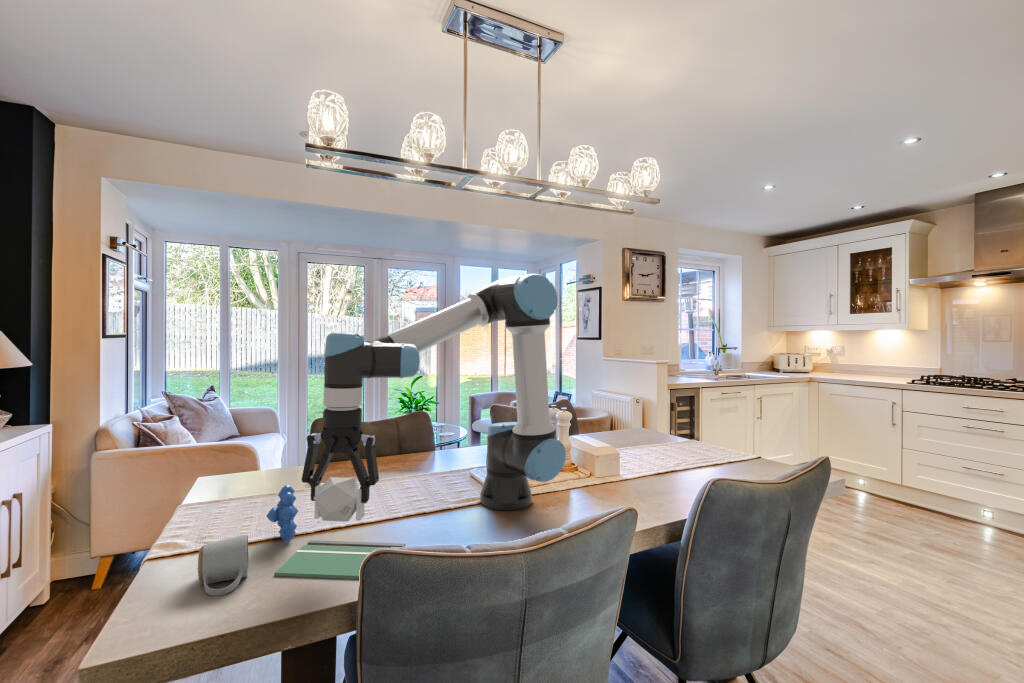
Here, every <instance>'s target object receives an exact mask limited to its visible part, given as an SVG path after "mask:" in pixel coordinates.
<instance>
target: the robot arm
mask: <svg viewBox="0 0 1024 683" xmlns="http://www.w3.org/2000/svg"><path fill="white" fill-rule="evenodd" d="M558 300H559V299H558V294H557V290H556V288H555V286H554V284H553V283H552V282H551V281H550V280H549V278H547V277H546V276H544V275H542V274H539V273H524V274H523V273H522V274H520V275H515V276H510V277H509V276H508V277H503V278H500V279H497V280H495V281H493V282H491V283H490V284H487V285H485V286H484V287H482V288H480V289H477V290H476V291H473V292H471V293H469V294H468V295H467V297H466V299H464V300H462V301H460V302H458V303H456V304H454V305H451V306H449V307H447V308H444V309H441V310H440V311H437V312H435V313H432V314H430V315H428V316H426V317H424V318H421V319H419V320H417V321H415V322H412V323H410V324H407V325H406V326H403V327H400V328H398V329H397V330H394V331H392V332H390V333H387V334H385V335H383V336H380V337H379V338H376V339H374V340H370V341H369V340H367V341H366V340H365V336H364V335H363V334H362V333H353V332H352V333H350V332H349V333H348V332H347V333H345V332H344V333H343V332H331V333H329V334H328V335H327V336H326V338H325V347H324V348H325V349H324V354H323V357H324V378H323V379H324V380H323V381H324V382H323V400H322V401H323V404H322V405H323V406H324V407H325V408H324V409H323V410H322V430H321V432H320V433H317V432H314V433H311V434H309V435H307V436H306V442H307V450H306V454H305V460H304V465H303V471H302V475H301V482H302V483H307V484H309V485H310V501H312V502H314V512H313V513H314V515H313V516H314V517H313V519H315V520H317V519H319V518H320V517H321V515H320V513H319V510H318V508H317V505H316V503H315V501H314V497H315V495H316V494H317V493H318V492H319V490H320V489H321V488H322V486H323V485H324V484H325V483H326V482H323V477H324V475H325V473H326V471H327V469H328V466H329V465H330V462H331V461H332V458H333V456H334V454H338V453H341V454H344V455H345V454H346V455H347V458H348V459H349V460H350V463H351V465H352V467H353V470H354V472H355V474H356V478H357V480H358V483H359V486H358V488H357V504H356V511H355V513H356V514H355V521H361V520H362V519H363V518H364V516H365V507H366V506H365V504H367V503H368V502H369V500H370V486H371V487H372V486H374V485H375V486H376V483H378V482H379V480H380V476H379V468H378V461H377V455H376V441H377V436H376V435H375V434H372V435H367V434H364V433H363V430H362V420H363V419H362V416H363V413H362V412H363V410H362V408H361V406H362V404H363V380H364V379H375V378H376V379H378V378H379V379H384V378H386V379H387V378H389V379H390V378H392V379H393V378H397V379H398V378H400V379H403V378H411V377H415V376H416V375H417V373H418V371H419V368H420V362H421V359H420V358H421V357H420V356H421V355H420V353H421V352H423V351H426V350H427V349H430V348H432V347H434V346H436V345H439V344H440V343H442V342H445V341H447V340H448V339H450V338H453V337H455V336H457V335H459V334H461V333H464V332H466V331H467V330H469V329H472V328H474V327H476V326H478V325H479V326H481V327H483V326H486V325H488V324H491V323H494V322H499V321H505V328H506V329H507V330H508V331H509V332H510V334H511V335H512V336H511V338H512V351H513V352H512V353H513V369H514V370H513V371H514V385H515V386H514V387H515V388H514V389H515V400H516V401H515V402H516V416H517V417H516V418H517V421H503V422H495V423H491V424H489V426H488V428H487V435H486V438H487V442H486V444H487V445H486V446H487V448H486V449H487V450H486V475H485V479H484V481H483V485H482V488H481V490H480V493H479V494H480V495H479V501H480V503H481V505H483V506H484V507H486V508H487V509H488V508H489V509H493V510H498V511H516V510H518V511H519V510H522V509H526V508H528V507H529V506H531V505H532V502H533V494H532V490H531V487H530V484H529V479H530V480H532V481H536V482H539V483H548V482H549V481H552V480H553V479H555V478H556V477H558V476H559V474H560V472H561V471H562V470H563V468H564V467H565V463H566V461H567V460H566V459H567V452H566V450H567V449H566V447H565V445H564V444H563V443H562V441H560V440H559V439H558V438H557V429H556V425H555V424H553V422H551V420H550V404H549V402H550V401H549V386H548V370H547V369H548V368H547V351H546V350H547V349H546V348H547V347H546V335H545V334H546V333H545V332H546V331H547V330H548V329H549V327H550V326H551V316H553V314H555V310H557V307H558V302H559V301H558ZM321 441H323V443H324V445H325V449H323V452H322V456H321V458H320V460H319V463H318V465H317V467H316V462H317V458H318V451H319V448H320V447H319V446H320V443H321ZM361 441H362V444H363V446H364V451H365V458H366V460H365V461H366V466H365V463H364V461H363V459H362V456H361V451H360V449H359V446H358V445H359V444H360V442H361ZM315 467H316V469H315ZM366 468H367V469H366Z"/></svg>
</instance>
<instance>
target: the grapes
mask: <svg viewBox="0 0 1024 683" xmlns="http://www.w3.org/2000/svg"><path fill="white" fill-rule="evenodd" d="M294 493H295V489H294V488H293V487H292V486H291V485H289V484H286V485H284V486H283V487H281V490H279V492H278V495H277V496H278V498H279V499H280V500H279V501H278V503H277V504H276V507H275V506H274V507H272V508H270V510H269V511H268V512H267V514H266V518H267V519H268V520H269V521H270V522H271V523H277V526H279V528H280V529H279V531H278V534H279V537H280V538H281V539H282V540H283V541H284V542H286V543H289V542H291V540H293V539H294V537H295V535H296V534H297V532H296V531H295V530H296V529H297V527H298V525H297V524H296V523H295V522H294V519H295V518H296V516H297V514H298V512H299V509H298V508H297V507H296V506H294V502H295V501H296V500H297V497H296V496H295V495H294Z"/></svg>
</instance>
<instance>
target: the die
mask: <svg viewBox="0 0 1024 683" xmlns="http://www.w3.org/2000/svg"><path fill="white" fill-rule="evenodd" d="M324 483H325V484H324V485H323V486H322V488H321V489H320V490H319V492H318V493H317V494H316V495H315V497H314V501H313V502H314V504H315V503H316V505H317V508H318V510H319V513H320V515H321V521H323V522H350V521H351V519H352V518H353V516H354V514H355V513H356V504H357V488H358V487H359V486H358V483H357V480H356V478H355V477H337V476H336V477H334V476H333V477H332V476H330V477H328V479H327V480H326V481H325V482H324Z"/></svg>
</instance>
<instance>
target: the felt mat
mask: <svg viewBox="0 0 1024 683" xmlns="http://www.w3.org/2000/svg"><path fill="white" fill-rule="evenodd" d="M378 548H379V547H374V546H346V545H318V544H303V545H302V546H301V547H299V549H297V550H296V552H294V553H293V555H291V556H290V558H288V559H287V561H284V563H283V564H282V565H281V566H280V567H279V568H277V570H276V571H275V572H274V576H275V577H296V578H297V577H299V578H302V577H305V578H325V579H327V578H328V579H351V580H352V579H353V580H360V579H359V570H360V566H361V563H362V562H363V560H364V558H365V557H366V556H367V555H368V554H369V553H370V552H372V551H373V550H375V549H378Z"/></svg>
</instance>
